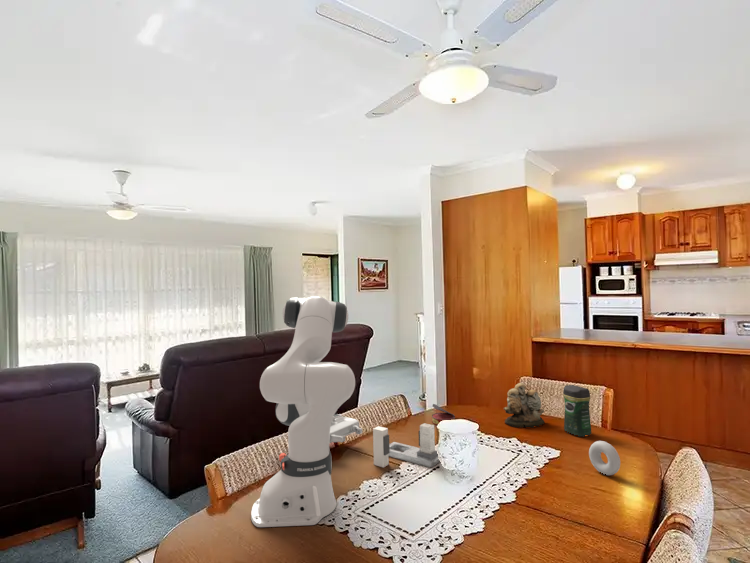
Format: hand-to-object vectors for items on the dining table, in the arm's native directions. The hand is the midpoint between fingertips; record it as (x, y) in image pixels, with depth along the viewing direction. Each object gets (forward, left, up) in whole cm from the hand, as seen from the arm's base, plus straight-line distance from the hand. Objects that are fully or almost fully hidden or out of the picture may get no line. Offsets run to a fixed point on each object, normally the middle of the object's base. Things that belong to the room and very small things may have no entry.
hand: (352, 435), depth 149 cm
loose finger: (+8, -9, -7) cm, 14 cm away
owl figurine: (+77, +14, -8) cm, 78 cm away
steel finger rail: (+20, -7, -7) cm, 22 cm away
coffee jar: (+90, -3, -7) cm, 90 cm away
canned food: (+45, +25, -8) cm, 52 cm away
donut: (+73, -36, -7) cm, 81 cm away
